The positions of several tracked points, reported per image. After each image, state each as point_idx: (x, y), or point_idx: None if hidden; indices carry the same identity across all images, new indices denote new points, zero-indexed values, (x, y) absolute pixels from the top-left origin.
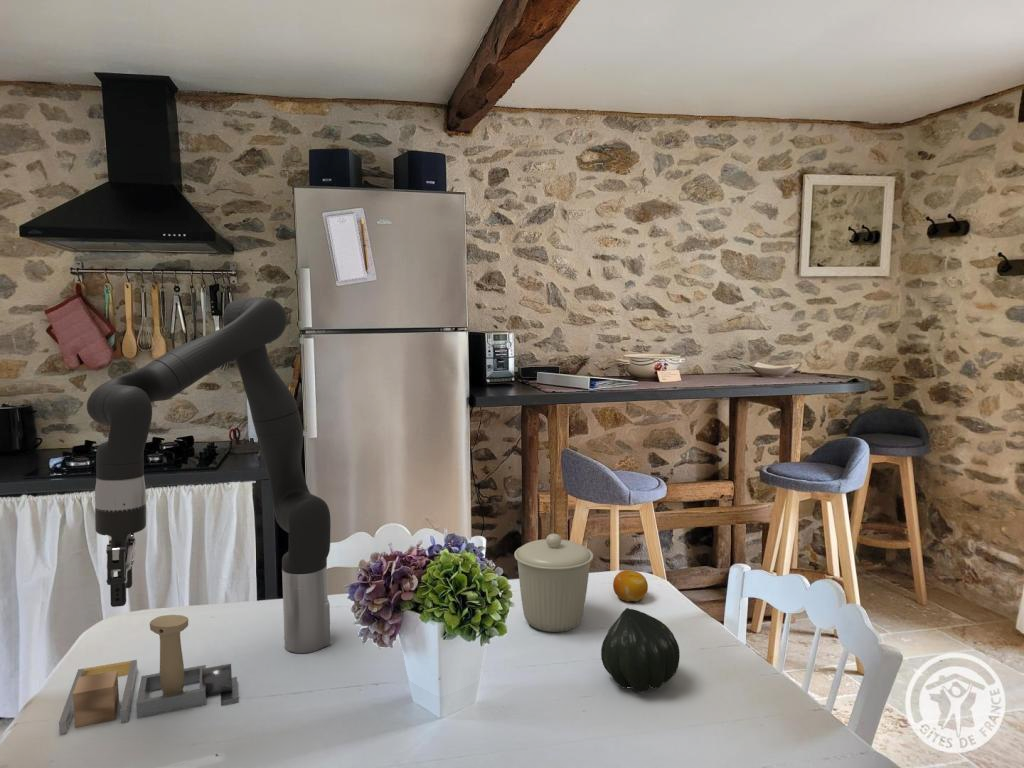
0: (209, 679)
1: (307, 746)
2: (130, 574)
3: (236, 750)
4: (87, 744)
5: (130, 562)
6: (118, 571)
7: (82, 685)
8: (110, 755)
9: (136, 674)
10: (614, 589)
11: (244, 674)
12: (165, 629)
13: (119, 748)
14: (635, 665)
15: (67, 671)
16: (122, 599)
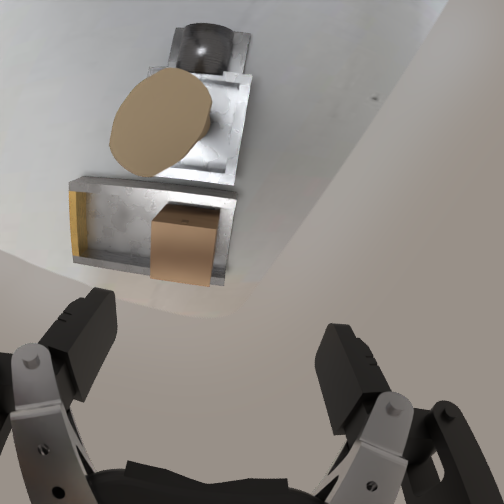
0: (221, 63)
1: (408, 17)
2: (85, 329)
3: (378, 76)
4: (249, 242)
5: (386, 482)
6: (88, 387)
7: (184, 273)
8: (296, 216)
9: (91, 179)
10: None
11: (160, 20)
12: (201, 134)
13: (285, 205)
14: None
15: (45, 263)
16: (369, 350)
